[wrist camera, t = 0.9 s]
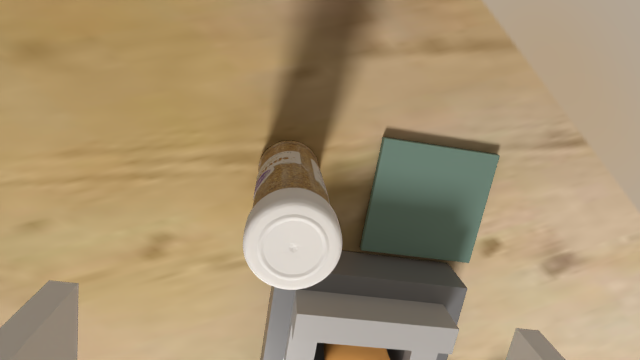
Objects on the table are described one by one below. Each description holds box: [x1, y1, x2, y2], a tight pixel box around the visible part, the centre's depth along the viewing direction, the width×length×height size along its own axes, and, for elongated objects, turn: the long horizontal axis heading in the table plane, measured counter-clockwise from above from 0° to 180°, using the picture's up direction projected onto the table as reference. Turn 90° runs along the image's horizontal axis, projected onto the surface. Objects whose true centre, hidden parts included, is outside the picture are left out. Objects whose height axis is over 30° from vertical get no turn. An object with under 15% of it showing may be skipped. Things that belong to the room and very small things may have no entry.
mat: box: [360, 137, 499, 263], centre depth 33 cm, size 9×9×1 cm
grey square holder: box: [260, 251, 467, 360], centre depth 33 cm, size 14×14×7 cm
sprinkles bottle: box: [243, 141, 342, 290], centre depth 26 cm, size 5×5×14 cm
